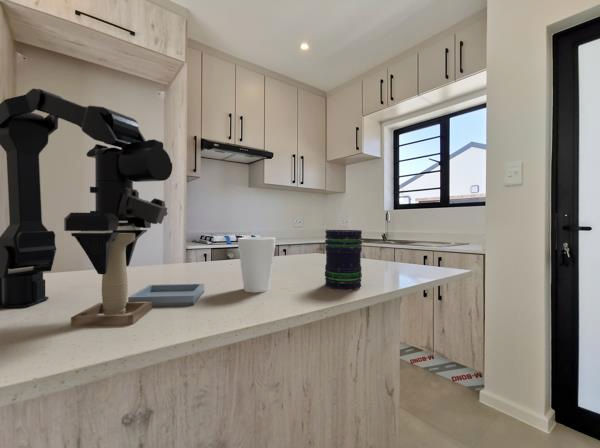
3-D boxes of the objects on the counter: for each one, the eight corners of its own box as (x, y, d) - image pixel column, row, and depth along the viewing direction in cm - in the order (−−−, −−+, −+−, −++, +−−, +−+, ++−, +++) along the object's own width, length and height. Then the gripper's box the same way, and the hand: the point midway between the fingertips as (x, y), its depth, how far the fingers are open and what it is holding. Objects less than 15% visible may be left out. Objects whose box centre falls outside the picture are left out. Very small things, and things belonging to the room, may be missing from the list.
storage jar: (367, 289, 77) (368, 231, 77) (331, 290, 75) (331, 231, 75) (353, 281, 87) (353, 229, 87) (320, 282, 85) (320, 229, 85)
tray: (128, 307, 60) (128, 297, 60) (149, 293, 72) (149, 284, 72) (193, 305, 62) (193, 295, 62) (204, 291, 73) (204, 283, 73)
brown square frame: (71, 326, 49) (71, 317, 49) (99, 310, 58) (99, 302, 58) (133, 324, 51) (133, 315, 51) (151, 309, 59) (151, 301, 59)
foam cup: (278, 286, 80) (278, 237, 80) (271, 294, 71) (272, 239, 71) (243, 285, 81) (243, 236, 81) (232, 293, 72) (232, 239, 72)
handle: (97, 315, 55) (96, 233, 55) (136, 311, 58) (136, 233, 57) (90, 323, 51) (89, 234, 51) (133, 319, 53) (133, 234, 53)
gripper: (141, 176, 46) (141, 279, 46) (176, 188, 64) (176, 262, 64) (61, 174, 44) (62, 280, 44) (120, 187, 63) (120, 262, 63)
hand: (114, 269), depth 54 cm, fingers open, 8 cm apart
